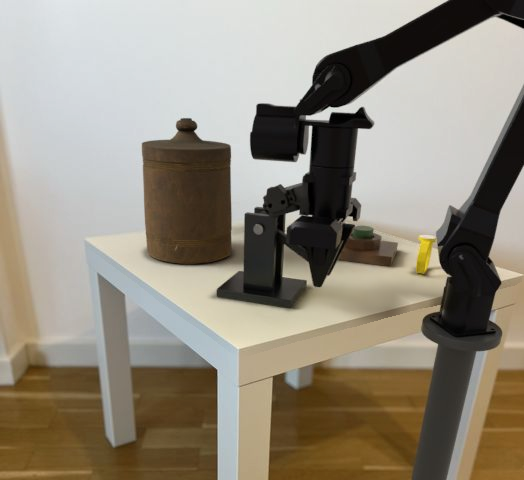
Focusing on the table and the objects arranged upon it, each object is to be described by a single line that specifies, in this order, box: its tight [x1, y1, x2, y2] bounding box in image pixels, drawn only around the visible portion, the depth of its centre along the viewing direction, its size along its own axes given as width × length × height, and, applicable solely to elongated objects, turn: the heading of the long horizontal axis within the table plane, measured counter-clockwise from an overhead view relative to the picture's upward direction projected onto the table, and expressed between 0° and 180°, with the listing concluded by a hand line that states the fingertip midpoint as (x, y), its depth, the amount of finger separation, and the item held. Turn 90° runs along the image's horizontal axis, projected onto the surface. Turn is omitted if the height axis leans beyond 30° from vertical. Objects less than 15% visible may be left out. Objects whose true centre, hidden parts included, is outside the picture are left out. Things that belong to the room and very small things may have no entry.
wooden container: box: [141, 117, 233, 265], centre depth 92 cm, size 15×15×22 cm
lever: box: [259, 211, 309, 263], centre depth 76 cm, size 12×5×2 cm, turn 71°
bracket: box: [216, 206, 308, 309], centre depth 78 cm, size 11×9×12 cm
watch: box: [415, 234, 437, 275], centre depth 90 cm, size 6×3×6 cm, turn 156°
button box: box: [337, 231, 399, 267], centre depth 99 cm, size 12×10×4 cm
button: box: [352, 225, 374, 239], centre depth 98 cm, size 4×4×2 cm
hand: (321, 280), depth 77 cm, fingers closed on lever, 5 cm apart
